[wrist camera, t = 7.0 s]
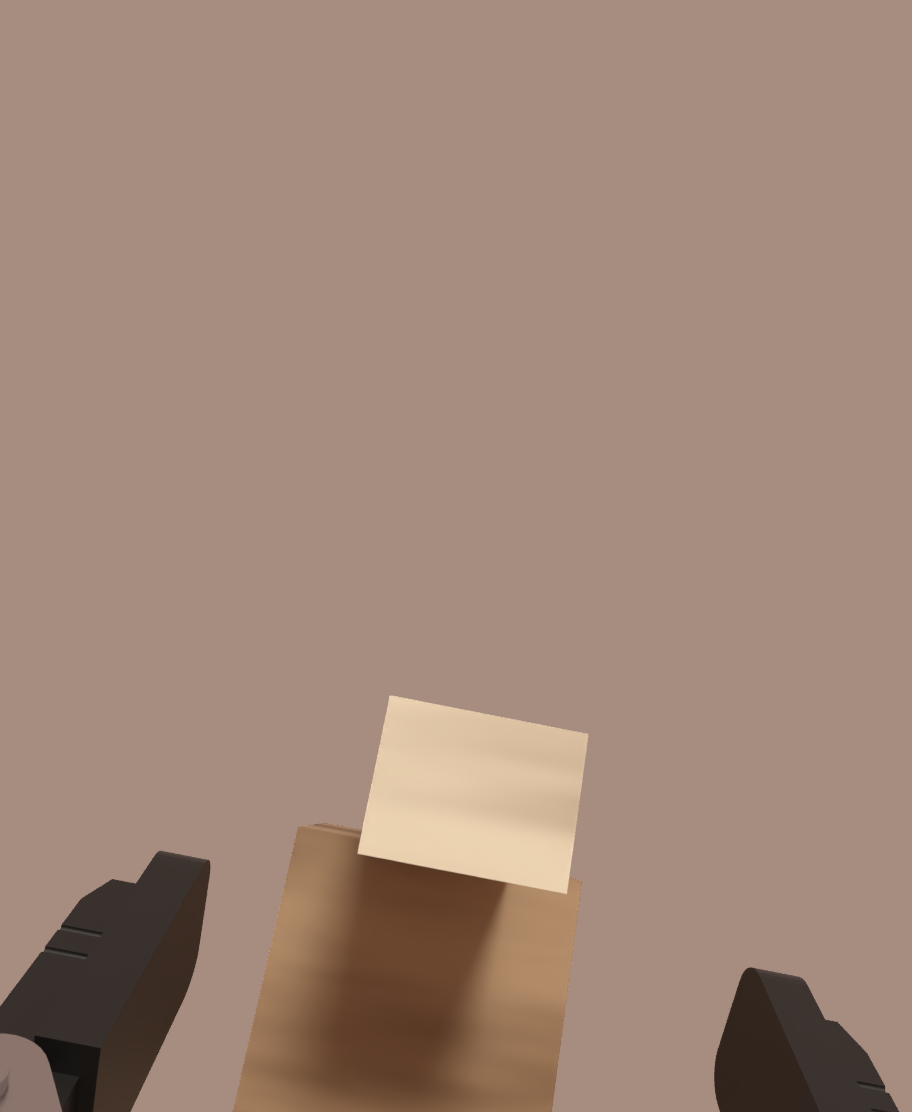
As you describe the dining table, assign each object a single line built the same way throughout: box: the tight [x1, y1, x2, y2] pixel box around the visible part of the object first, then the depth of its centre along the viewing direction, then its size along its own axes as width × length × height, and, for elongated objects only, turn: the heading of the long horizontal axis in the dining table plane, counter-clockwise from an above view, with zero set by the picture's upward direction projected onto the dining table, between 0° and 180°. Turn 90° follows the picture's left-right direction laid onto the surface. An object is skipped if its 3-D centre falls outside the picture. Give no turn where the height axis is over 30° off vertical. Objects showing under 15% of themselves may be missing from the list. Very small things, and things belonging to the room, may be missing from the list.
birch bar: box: [357, 696, 588, 894], centre depth 26 cm, size 20×4×3 cm, turn 4°
